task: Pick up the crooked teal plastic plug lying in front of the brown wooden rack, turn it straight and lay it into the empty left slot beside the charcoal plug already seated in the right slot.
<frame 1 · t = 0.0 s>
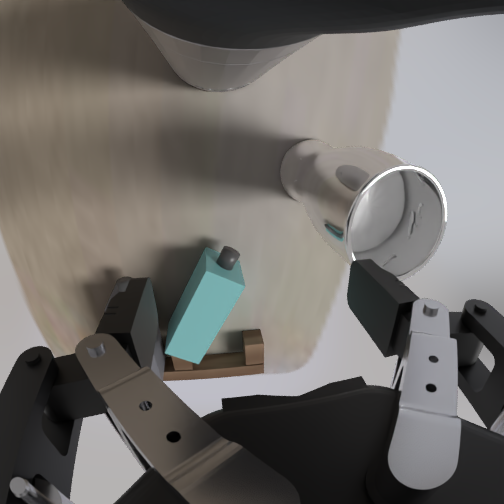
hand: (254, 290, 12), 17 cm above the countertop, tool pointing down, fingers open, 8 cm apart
brown wooden rack: (183, 350, 34), on the countertop
beer glass: (310, 171, 28), on the countertop
teal plug: (201, 293, 32), on the countertop
charcoal plug: (142, 320, 32), on the countertop
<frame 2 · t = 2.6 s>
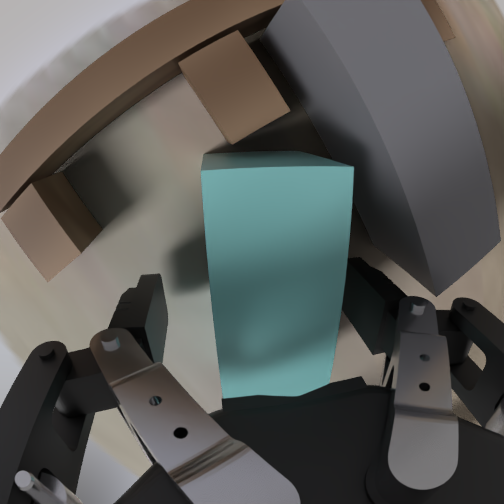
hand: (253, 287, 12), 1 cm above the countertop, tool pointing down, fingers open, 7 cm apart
brown wooden rack: (219, 79, 10), on the countertop
teal plug: (254, 271, 13), on the countertop
charcoal plug: (359, 126, 12), on the countertop
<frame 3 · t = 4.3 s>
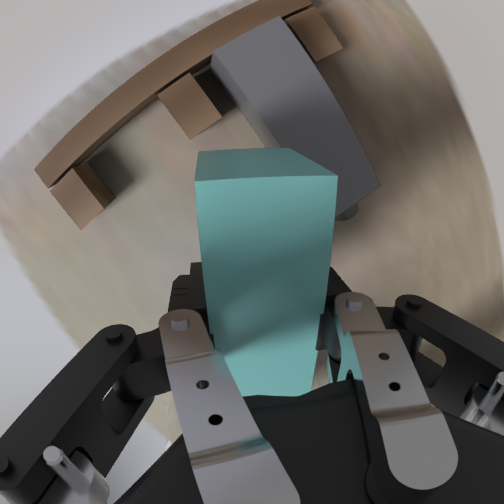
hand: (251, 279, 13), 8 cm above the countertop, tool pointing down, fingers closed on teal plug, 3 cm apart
brown wooden rack: (184, 99, 16), on the countertop
beer glass: (198, 396, 26), on the countertop
teal plug: (247, 261, 14), point 6 cm above the countertop, touching gripper
charcoal plug: (280, 119, 18), on the countertop
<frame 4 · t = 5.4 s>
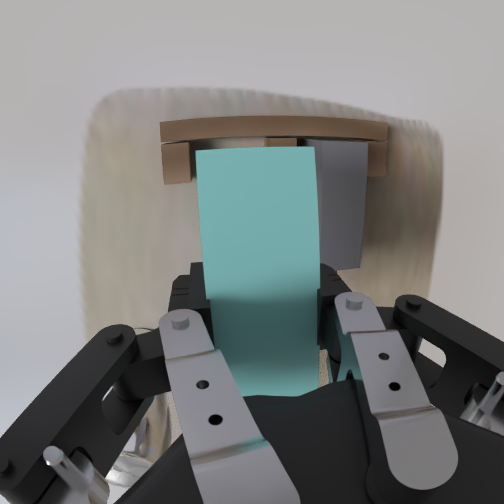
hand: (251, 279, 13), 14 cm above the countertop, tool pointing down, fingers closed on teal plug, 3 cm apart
brown wooden rack: (276, 146, 25), on the countertop
beer glass: (145, 349, 31), on the countertop
teal plug: (247, 275, 15), point 13 cm above the countertop, tilted 14°, touching gripper
charcoal plug: (321, 194, 27), on the countertop
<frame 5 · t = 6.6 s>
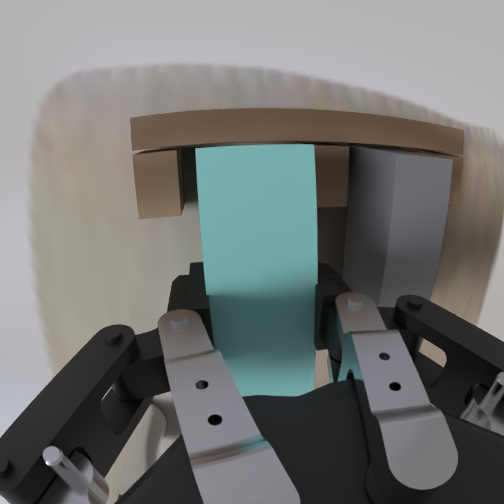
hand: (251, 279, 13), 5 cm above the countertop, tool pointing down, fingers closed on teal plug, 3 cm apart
brown wooden rack: (312, 157, 16), on the countertop
beer glass: (132, 414, 22), on the countertop
teal plug: (246, 265, 15), point 3 cm above the countertop, tilted 10°, touching gripper
charcoal plug: (370, 226, 19), on the countertop
when the fingers open (2 cm above the countertop, at t = 7.6 s): teal plug stays where it is, on the countertop.
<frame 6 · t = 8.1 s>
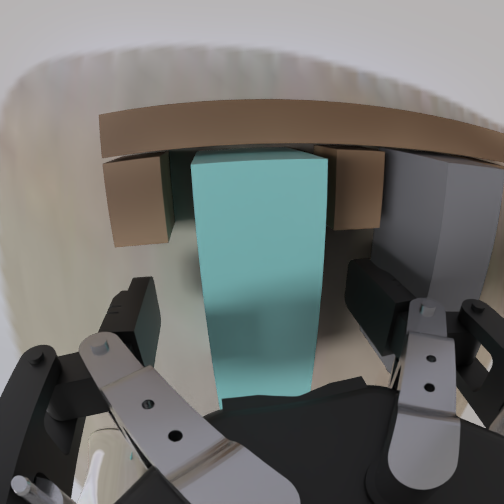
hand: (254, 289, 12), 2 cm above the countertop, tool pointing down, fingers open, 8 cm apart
brown wooden rack: (335, 163, 13), on the countertop
beer glass: (126, 447, 19), on the countertop
teal plug: (245, 259, 14), on the countertop
charcoal plug: (399, 244, 15), on the countertop
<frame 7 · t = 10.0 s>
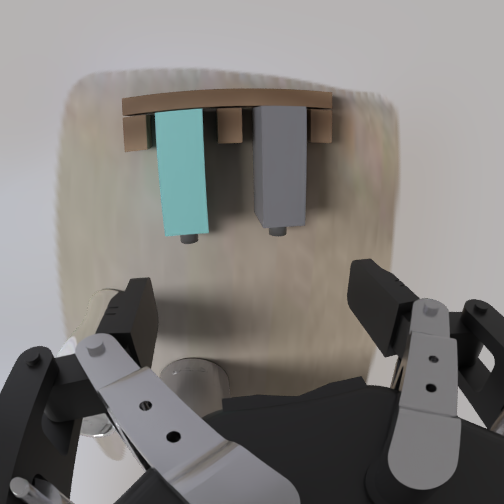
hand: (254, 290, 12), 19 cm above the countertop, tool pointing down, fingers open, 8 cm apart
brown wooden rack: (227, 118, 26), on the countertop
beer glass: (113, 310, 33), on the countertop
teal plug: (185, 165, 28), on the countertop
charcoal plug: (271, 160, 29), on the countertop
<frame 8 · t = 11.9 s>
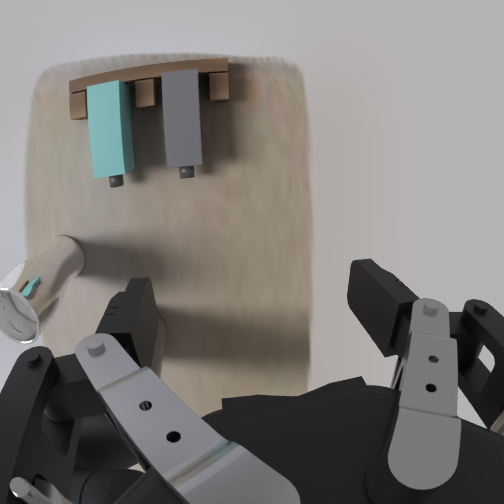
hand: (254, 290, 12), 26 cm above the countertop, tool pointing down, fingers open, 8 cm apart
brown wooden rack: (148, 89, 31), on the countertop
beer glass: (65, 256, 37), on the countertop
teal plug: (117, 128, 32), on the countertop
charcoal plug: (185, 119, 33), on the countertop
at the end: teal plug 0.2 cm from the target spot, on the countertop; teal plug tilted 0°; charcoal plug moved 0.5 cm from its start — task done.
